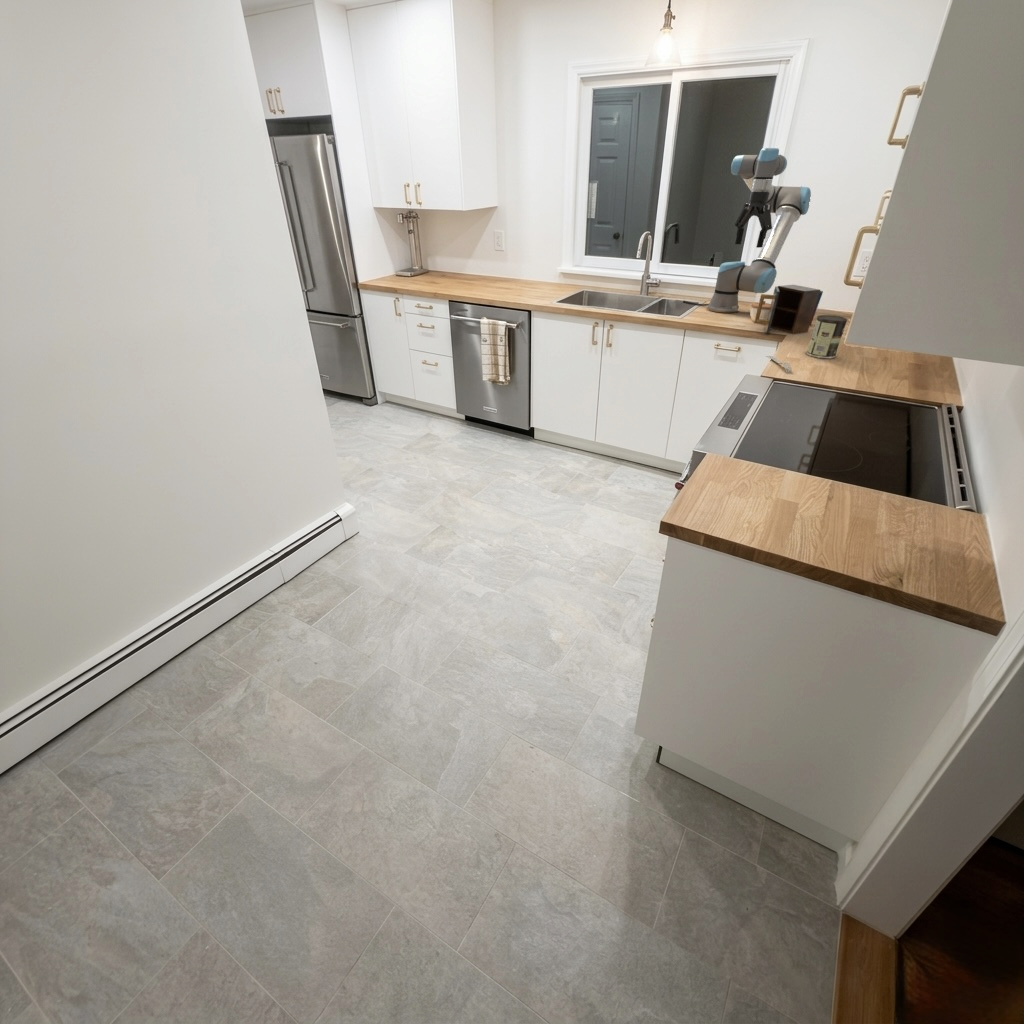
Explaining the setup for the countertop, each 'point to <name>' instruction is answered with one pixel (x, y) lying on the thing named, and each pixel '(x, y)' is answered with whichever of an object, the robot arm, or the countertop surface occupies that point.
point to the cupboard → (794, 308)
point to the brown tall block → (817, 304)
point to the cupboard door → (771, 310)
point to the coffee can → (826, 336)
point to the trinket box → (763, 311)
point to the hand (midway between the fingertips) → (748, 245)
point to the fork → (781, 363)
